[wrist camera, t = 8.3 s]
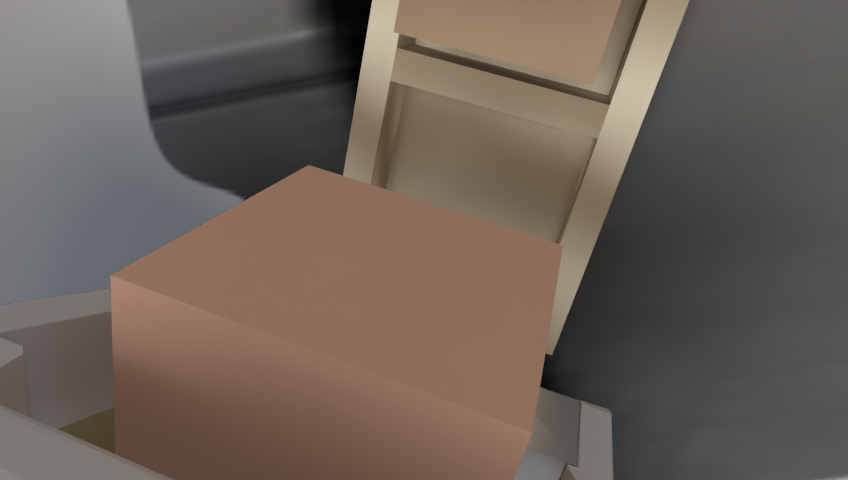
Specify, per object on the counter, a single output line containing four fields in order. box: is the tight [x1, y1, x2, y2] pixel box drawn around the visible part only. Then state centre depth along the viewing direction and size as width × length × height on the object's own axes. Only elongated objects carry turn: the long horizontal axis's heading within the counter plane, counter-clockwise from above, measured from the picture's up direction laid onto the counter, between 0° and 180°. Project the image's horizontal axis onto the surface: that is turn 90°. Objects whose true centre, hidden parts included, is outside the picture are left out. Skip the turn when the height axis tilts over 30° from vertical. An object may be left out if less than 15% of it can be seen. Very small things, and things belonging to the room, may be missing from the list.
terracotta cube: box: [110, 165, 563, 480], centre depth 9 cm, size 5×5×5 cm
